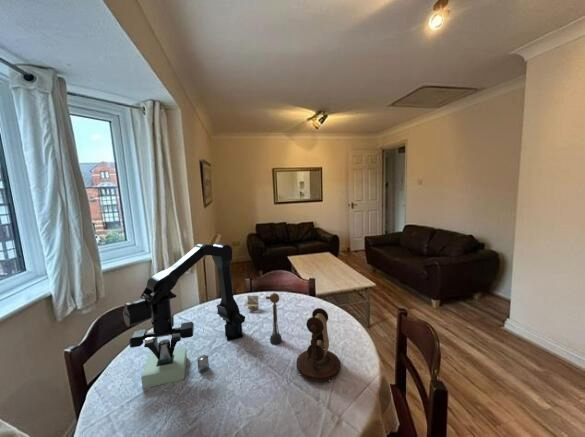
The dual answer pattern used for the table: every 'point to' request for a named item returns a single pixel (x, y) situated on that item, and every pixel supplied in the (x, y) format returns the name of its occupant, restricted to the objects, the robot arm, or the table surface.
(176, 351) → the hole block
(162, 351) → the long pin
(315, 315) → the dark brown tall piece
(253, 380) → the table surface
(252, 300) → the architectural model
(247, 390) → the table surface
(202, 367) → the short pin
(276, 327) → the dark grey slender stand
